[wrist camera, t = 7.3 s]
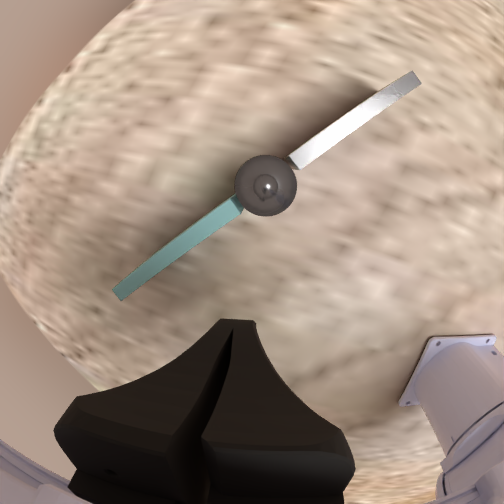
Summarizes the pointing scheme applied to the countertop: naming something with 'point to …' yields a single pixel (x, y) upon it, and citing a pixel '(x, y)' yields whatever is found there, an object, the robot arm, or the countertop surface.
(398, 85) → the fixed steel leaf
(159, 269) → the teal swing leaf
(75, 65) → the countertop surface
